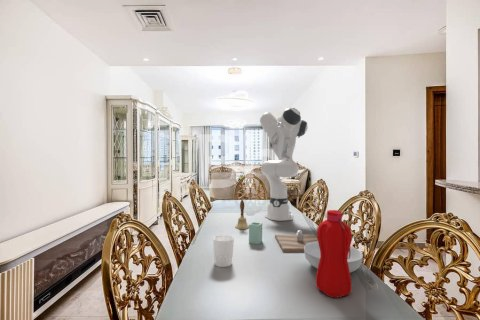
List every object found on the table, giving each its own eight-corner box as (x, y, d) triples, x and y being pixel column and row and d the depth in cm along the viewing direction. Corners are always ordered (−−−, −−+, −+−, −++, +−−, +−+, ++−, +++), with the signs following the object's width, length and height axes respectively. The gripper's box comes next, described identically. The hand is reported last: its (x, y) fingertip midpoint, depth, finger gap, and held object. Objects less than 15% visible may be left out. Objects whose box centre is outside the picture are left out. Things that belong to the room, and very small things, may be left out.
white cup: (217, 269, 96) (218, 242, 96) (210, 261, 103) (210, 236, 103) (237, 265, 99) (237, 239, 99) (228, 258, 106) (228, 233, 106)
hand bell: (232, 228, 151) (233, 200, 151) (238, 224, 158) (238, 198, 158) (246, 229, 148) (246, 201, 147) (251, 226, 155) (251, 199, 155)
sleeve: (252, 239, 130) (252, 221, 130) (262, 241, 128) (262, 223, 128) (248, 243, 125) (249, 224, 125) (258, 244, 123) (259, 225, 123)
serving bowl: (300, 275, 92) (300, 256, 92) (306, 254, 111) (306, 238, 111) (365, 286, 84) (366, 265, 84) (360, 261, 104) (360, 244, 104)
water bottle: (336, 304, 74) (338, 216, 73) (311, 286, 84) (312, 208, 83) (360, 297, 77) (362, 213, 77) (333, 281, 87) (334, 206, 87)
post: (295, 239, 126) (295, 229, 126) (301, 239, 126) (301, 229, 126) (297, 241, 123) (297, 231, 123) (303, 241, 123) (303, 231, 123)
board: (274, 237, 134) (274, 234, 134) (313, 237, 135) (313, 234, 135) (282, 251, 114) (282, 248, 114) (327, 251, 115) (328, 248, 115)
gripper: (285, 118, 129) (298, 137, 121) (280, 146, 145) (292, 164, 137) (273, 121, 128) (286, 140, 120) (270, 149, 144) (281, 168, 135)
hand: (289, 153), depth 128 cm, fingers open, 8 cm apart
